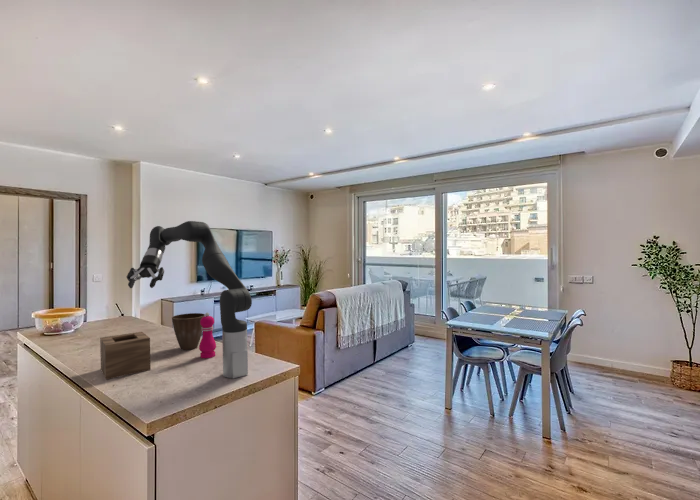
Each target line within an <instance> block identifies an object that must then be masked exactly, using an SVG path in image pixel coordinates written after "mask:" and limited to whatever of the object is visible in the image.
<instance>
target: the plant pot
mask: <svg viewBox="0 0 700 500" xmlns="http://www.w3.org/2000/svg"><path fill="white" fill-rule="evenodd" d="M205 314H206V313H201V312H200V313H199V312H198V313H197V312H195V313H193V312H192V313H191V312H190V313H181V314H177V315H173V316H172V317H171V321H172V327H173V330H174V335H175V338H176V341H177V343H178V346H179V348H180V350H182V351H191V350H194V349H197V348H198V347H199V345H200V342H201V339H202V335H203V331H202V326H201V324H200V320H201V319H202V318H203V317H204V316H205Z"/></svg>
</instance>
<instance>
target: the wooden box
mask: <svg viewBox="0 0 700 500" xmlns="http://www.w3.org/2000/svg"><path fill="white" fill-rule="evenodd" d="M99 340H100V344H99V345H100V346H99V348H100V350H99V351H100V371H101V370H102V371H101V372H103V373H102V375H103V377H104V379H105V380H110V379H113V378H119V377H123V376H129V375H134V374H137V373H142V372H143V373H144V372H147V371H150V370H152V369H151V337H150V336H148V335H147V334H146V333H144V332H143V331H136V332H131V333H130V332H129V333H122V334H115V335H110V336H104V337H100V339H99Z"/></svg>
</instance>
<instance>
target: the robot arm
mask: <svg viewBox="0 0 700 500" xmlns="http://www.w3.org/2000/svg"><path fill="white" fill-rule="evenodd" d="M181 240H182V241H185V242H186V241H187V242H191V243H193V242H194V243H200V244H202V245H203V247H204V251H203V254H202V258H201V262H202V265H203V267H204V270H205V271H206V273H207V274H208V275H209V277H211V278H212V279H213V280H215V281H216V282H217V283H219V284H220V285H223V286H225V287H226V288H227V289H225V290H223V291H222V292H221V294H220V296H219V311H220V324H221V328H222V329H221V330H222V338H221V341H222V376H223V377H225V378H228V379H229V378H230V379H237V378H239V377H240V378H241V377H245V376H248V375H249V369H248V368H249V361H248V360H249V359H248V358H249V356H248V355H249V354H248V352H249V351H248V322H246V321H245V320H242V319H238V318H236V314H237V313H241V312H246V311H248V310H249V309H251V307H252V304H253V299H252V296H251V293H250V292H249V290H248V288H247V287H246V285H245V284H243V282H242V281H241V280H240V279H239V277H238V276H237V274H236V273H235V271H234V270H233V268H232V267H231V265H230V263H229V261H228V260H227V257H226V256H225V255H224V253H223V252H222V250H221V248H220V247H219V245H218V243H217V241H216V239H215V236H214V234H213V232H212V230H211V228H210V226H209V224H208V223H206V222H203V221H196V220H187V221H184V222H183V223H181V224H179V225H177V226H171V227H166V228H164V227H163V226H160V225H157V226H156V225H155V226H154V227H153V228H152V229H151V230H150V233H149V245H148V247H147V250H146V251H145V252H144V255H143V257H142V260H141V261H140V264H139V267H138V268H134V267H131V268H130V270H129V271H128V273H127V275H126V279H127V280H128V284H127V285H128V287H129V289H133V287H134V285H135V282H136V281H138V280H141V279H143V278H144V279H145V278H149V279H150V278H151V280H150V283H149V287H150V288H151V289H153V288H154V287H155V286H156V283H157V282H159V281H162V280H163V277H164V274H165V270H164V267H162V266H161V267H160V265H161V262H162V260H163V255H164V253H165V250H166V246H169V245H170V244H171V243H174V242H179V241H181ZM156 274H157V276H156Z"/></svg>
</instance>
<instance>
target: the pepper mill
mask: <svg viewBox="0 0 700 500" xmlns="http://www.w3.org/2000/svg"><path fill="white" fill-rule="evenodd" d="M204 314H205V316H204V317H203V318H202V319H201V320H200V324H201V326H202V335H201V339H200V341H199V344H198V350H199V351H200V354H199V355H200V358H201V359H211V358H215V356H216V351H215V350H216V348H217V344H216V340H215V339H214V335H213V330H214V326H213V325H214V324H215V319H214V317H213V316H211V315H210V313H209V312H206V313H204Z"/></svg>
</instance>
